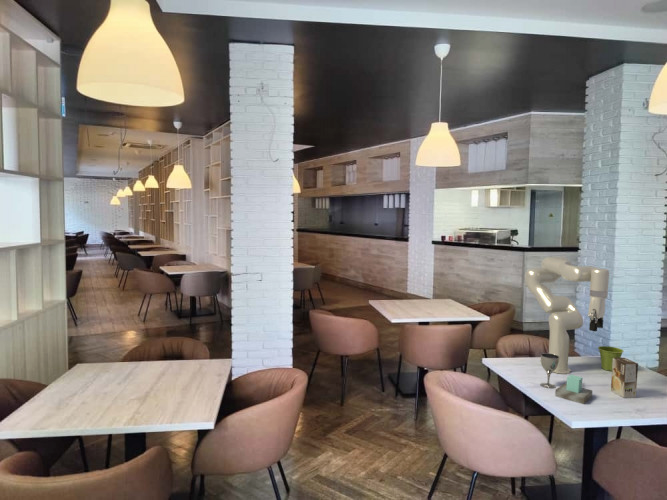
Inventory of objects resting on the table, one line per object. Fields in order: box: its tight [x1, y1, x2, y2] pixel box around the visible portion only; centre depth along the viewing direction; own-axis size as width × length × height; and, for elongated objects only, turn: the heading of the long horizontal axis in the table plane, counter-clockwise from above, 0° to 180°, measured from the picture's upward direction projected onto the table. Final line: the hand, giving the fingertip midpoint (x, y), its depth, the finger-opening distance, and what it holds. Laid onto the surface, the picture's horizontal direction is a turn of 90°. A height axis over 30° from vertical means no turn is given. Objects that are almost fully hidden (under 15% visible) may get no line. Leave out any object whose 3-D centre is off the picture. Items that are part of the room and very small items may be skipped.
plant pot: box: [597, 345, 624, 372], centre depth 246 cm, size 12×12×11 cm
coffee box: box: [610, 357, 639, 399], centre depth 211 cm, size 9×6×16 cm
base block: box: [554, 382, 593, 405], centre depth 207 cm, size 12×12×3 cm
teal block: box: [566, 374, 584, 393], centre depth 207 cm, size 5×5×6 cm
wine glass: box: [539, 352, 559, 390], centre depth 219 cm, size 8×8×15 cm
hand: (596, 329), depth 218 cm, fingers open, 9 cm apart
